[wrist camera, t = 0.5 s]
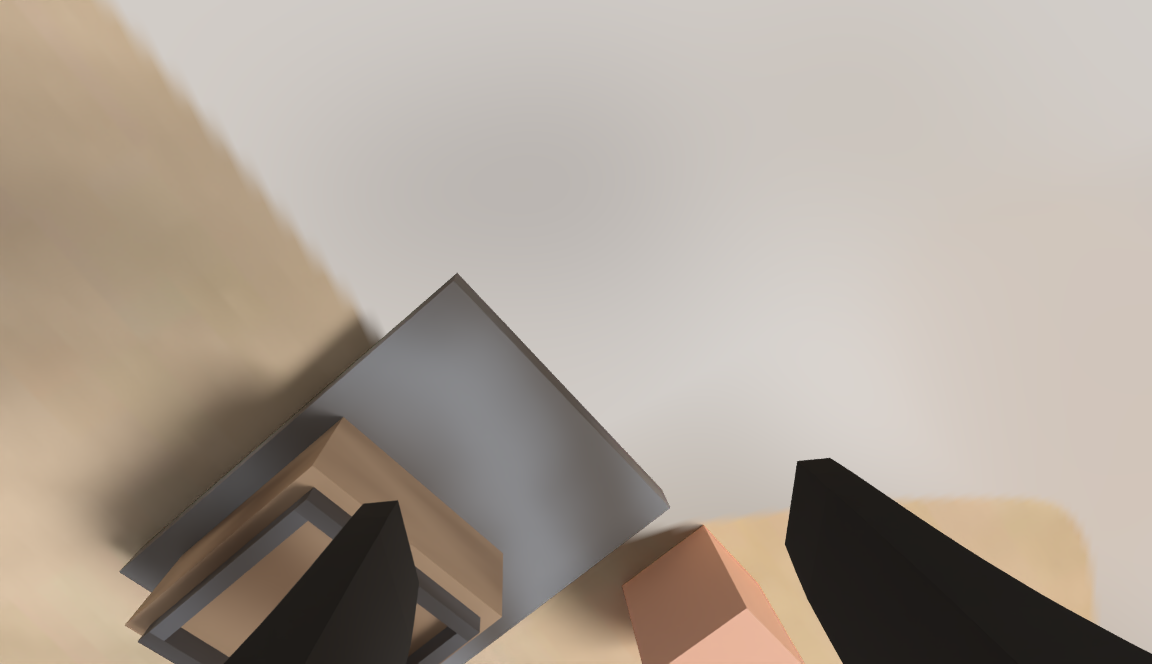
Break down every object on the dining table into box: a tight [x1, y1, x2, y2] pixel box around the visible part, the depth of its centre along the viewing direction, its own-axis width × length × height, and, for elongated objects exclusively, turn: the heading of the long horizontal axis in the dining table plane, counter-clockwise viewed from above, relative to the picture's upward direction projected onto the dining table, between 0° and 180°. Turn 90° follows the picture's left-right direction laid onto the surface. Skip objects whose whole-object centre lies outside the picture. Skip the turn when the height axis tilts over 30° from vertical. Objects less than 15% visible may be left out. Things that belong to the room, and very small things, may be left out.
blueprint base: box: [120, 273, 670, 664], centre depth 19 cm, size 16×12×5 cm
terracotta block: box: [622, 525, 805, 664], centre depth 22 cm, size 4×4×4 cm
